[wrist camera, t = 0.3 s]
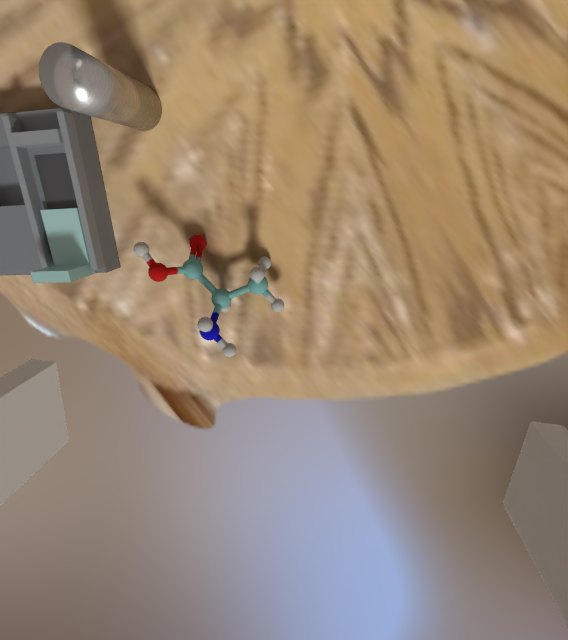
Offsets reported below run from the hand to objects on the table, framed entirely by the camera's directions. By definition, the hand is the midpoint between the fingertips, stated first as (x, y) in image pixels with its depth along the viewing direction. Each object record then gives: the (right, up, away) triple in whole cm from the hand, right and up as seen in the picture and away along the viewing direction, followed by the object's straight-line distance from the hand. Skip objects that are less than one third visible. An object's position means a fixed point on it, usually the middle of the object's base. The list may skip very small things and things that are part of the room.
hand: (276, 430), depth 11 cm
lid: (-20, +10, +24) cm, 33 cm away
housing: (-23, +15, +26) cm, 38 cm away
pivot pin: (-12, +22, +22) cm, 34 cm away
